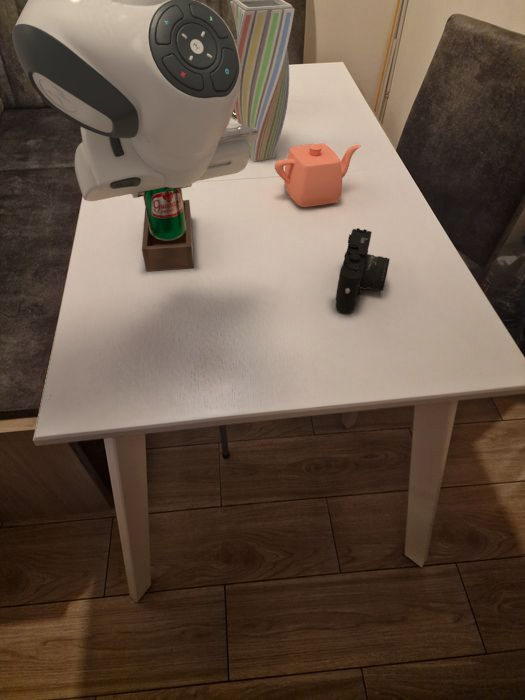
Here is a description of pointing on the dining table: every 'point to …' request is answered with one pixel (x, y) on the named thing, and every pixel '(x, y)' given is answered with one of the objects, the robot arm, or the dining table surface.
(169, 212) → the soda can
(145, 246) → the caddy
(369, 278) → the camera
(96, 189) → the robot arm
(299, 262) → the dining table surface
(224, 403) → the dining table surface
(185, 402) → the dining table surface
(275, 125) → the vase
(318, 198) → the teapot
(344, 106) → the dining table surface
